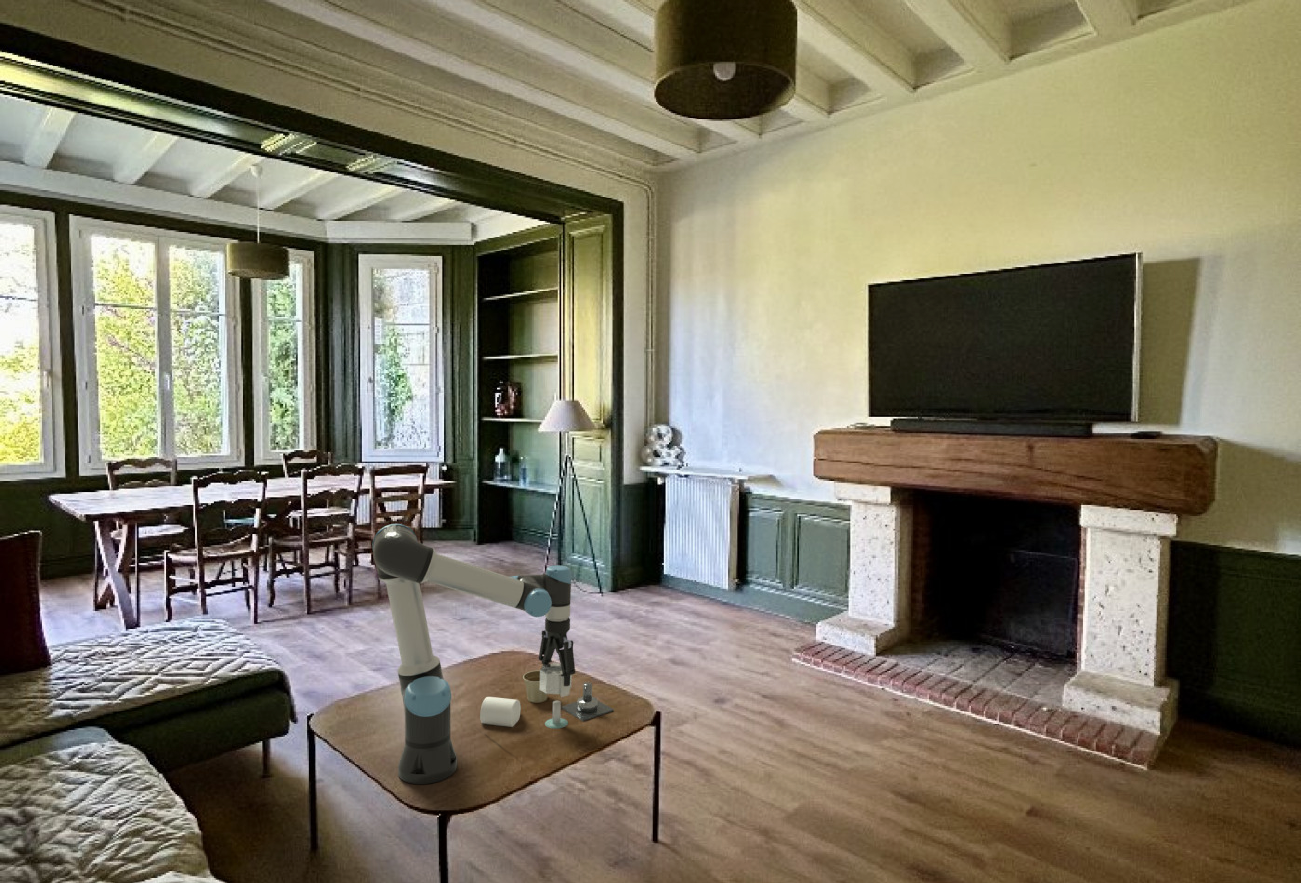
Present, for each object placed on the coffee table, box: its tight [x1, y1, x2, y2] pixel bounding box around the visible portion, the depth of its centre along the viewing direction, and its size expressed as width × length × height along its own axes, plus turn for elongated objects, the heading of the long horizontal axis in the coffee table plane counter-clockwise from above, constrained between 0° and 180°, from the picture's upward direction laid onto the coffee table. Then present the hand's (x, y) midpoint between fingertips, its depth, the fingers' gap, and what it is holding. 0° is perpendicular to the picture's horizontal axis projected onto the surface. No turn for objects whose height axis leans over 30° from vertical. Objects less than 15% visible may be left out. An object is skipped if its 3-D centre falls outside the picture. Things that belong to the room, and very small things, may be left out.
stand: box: [544, 700, 569, 730], centre depth 221 cm, size 7×7×8 cm
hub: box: [561, 681, 615, 722], centre depth 231 cm, size 12×12×9 cm
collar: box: [539, 662, 573, 695], centre depth 220 cm, size 9×9×6 cm
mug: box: [479, 696, 521, 728], centre depth 223 cm, size 12×10×8 cm
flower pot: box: [522, 669, 549, 703], centre depth 238 cm, size 9×9×9 cm
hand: (555, 690), depth 220 cm, fingers closed on collar, 9 cm apart
